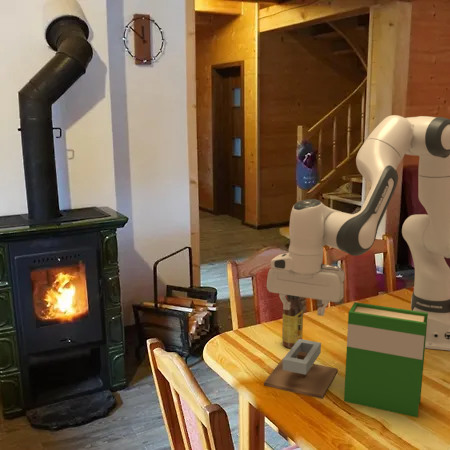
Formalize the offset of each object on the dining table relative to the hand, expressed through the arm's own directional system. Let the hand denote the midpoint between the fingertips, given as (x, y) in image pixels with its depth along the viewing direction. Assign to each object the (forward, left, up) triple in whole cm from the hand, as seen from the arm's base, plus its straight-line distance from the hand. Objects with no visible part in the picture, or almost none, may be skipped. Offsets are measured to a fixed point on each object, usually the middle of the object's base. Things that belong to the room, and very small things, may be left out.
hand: (303, 311), depth 145 cm
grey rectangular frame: (0, 0, -14) cm, 14 cm away
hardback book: (-22, +3, -20) cm, 30 cm away
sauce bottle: (+9, -19, -20) cm, 29 cm away
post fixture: (0, 0, -19) cm, 19 cm away
